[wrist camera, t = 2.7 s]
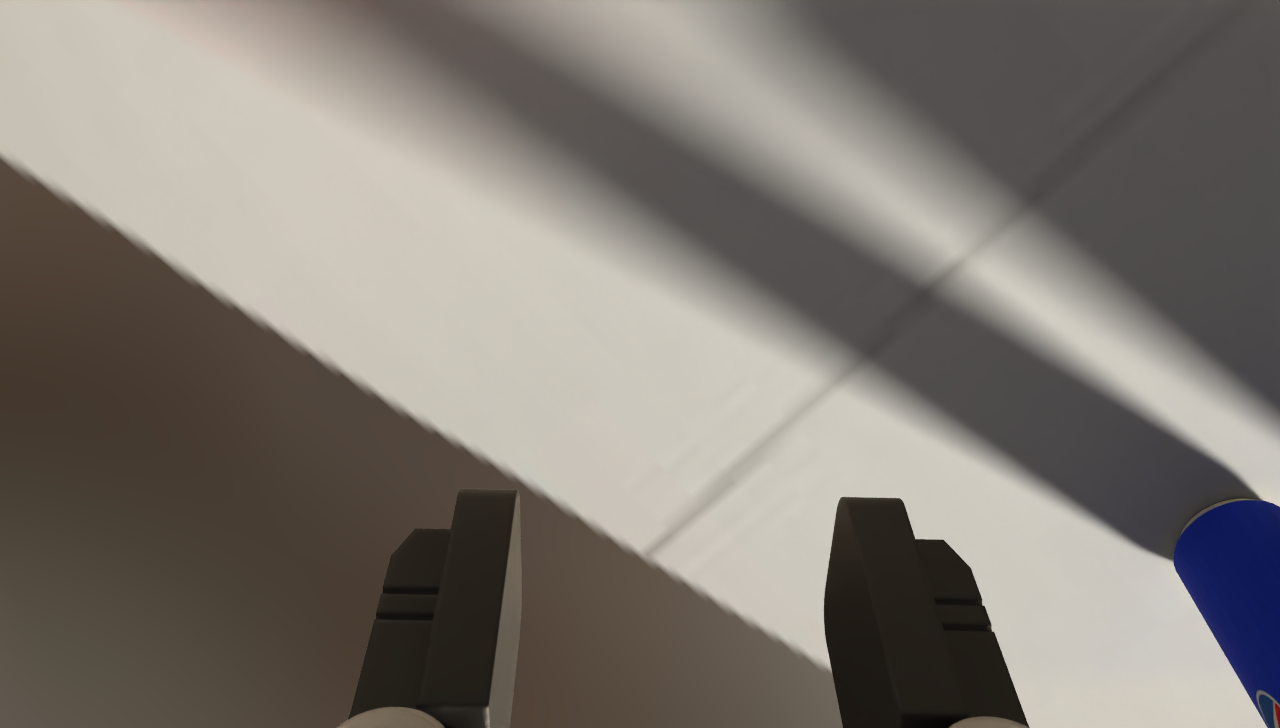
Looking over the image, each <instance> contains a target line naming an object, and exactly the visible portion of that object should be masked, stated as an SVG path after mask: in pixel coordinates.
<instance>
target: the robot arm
mask: <svg viewBox="0 0 1280 728" xmlns="http://www.w3.org/2000/svg"><path fill="white" fill-rule="evenodd" d="M520 537H521V534H520V499H519V491H518V490H507V489H504V490H503V489H460V490H459V492H458V497H457V501H456V506H455V511H454V517H453V521H452V526H451V529H415V530H414V531H413V532H412V533H411V534H410V535H409V536H408V538H407V539H406V540H405V541H404V542H403V543H402V544H401V545H400V547H399V548H398V549H397V550H396V551H395V552H394V553H393V554H392V556H391V558H390V563H389V566H388V570H387V574H386V578H385V581H384V585H383V594H381V597H380V601H379V605H378V609H377V612H376V620H374V624H373V628H372V632H371V636H370V640H369V643H368V647H367V651H366V655H365V659H364V663H363V667H362V671H361V675H360V678H359V682H358V686H357V690H356V694H355V698H354V702H353V706H352V709H351V713H350V715H349V718H348V720H347V721H345V722H344V723H343V724H341V725H340V726H338V727H337V728H510V719H511V710H512V701H513V691H514V682H515V673H516V664H517V655H518V645H519V636H520V625H521V624H520V623H521V604H522V603H521V602H522V575H521V538H520ZM824 625H825V636H826V643H827V648H828V653H829V658H830V663H831V668H832V673H833V678H834V683H835V689H836V693H837V698H838V703H839V709H840V714H841V719H842V724H843V728H1029V725H1028V723H1027V721H1026V718H1025V715H1024V712H1023V710H1022V707H1021V704H1020V701H1019V699H1018V696H1017V693H1016V691H1015V688H1014V685H1013V682H1012V680H1011V677H1010V674H1009V671H1008V669H1007V666H1006V663H1005V661H1004V658H1003V655H1002V652H1001V650H1000V647H999V644H998V641H997V639H996V636H995V633H994V632H992V630H991V626H992V625H991V622H990V620H989V617H988V614H987V611H986V609H985V606H982V598H981V595H980V592H979V590H978V587H977V584H976V581H975V579H974V576H973V573H972V570H971V568H970V567H969V566H968V565H967V564H966V563H965V562H964V561H963V560H962V559H961V557H960V556H959V555H958V554H957V553H956V552H955V551H954V550H953V549H952V548H951V547H950V546H949V545H948V544H947V543H946V542H945V541H944V540H923V539H915V537H914V534H913V530H912V527H911V524H910V521H909V518H908V515H907V512H906V508H905V506H904V503H903V501H902V500H901V499H900V498H859V497H842V498H841V499H840V500H839V503H838V507H837V512H836V519H835V526H834V533H833V540H832V546H831V553H830V560H829V567H828V574H827V581H826V588H825V598H824Z"/></svg>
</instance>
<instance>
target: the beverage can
mask: <svg viewBox="0 0 1280 728" xmlns="http://www.w3.org/2000/svg"><path fill="white" fill-rule="evenodd" d="M1173 558H1174V566H1175V569H1176V571H1177V573H1178V575H1179V577H1180V578H1181V580H1182V582H1183V583H1184V585H1185V587H1186V589H1187V590H1188V592H1189V594H1190V595H1191V597H1192V599H1193V601H1194V602H1195V604H1196V606H1197V607H1198V609H1199V611H1200V613H1201V614H1202V616H1203V618H1204V619H1205V621H1206V623H1207V625H1208V626H1209V628H1210V630H1211V631H1212V633H1213V635H1214V637H1215V638H1216V640H1217V642H1218V643H1219V645H1220V647H1221V648H1222V650H1223V652H1224V654H1225V655H1226V657H1227V659H1228V660H1229V662H1230V664H1231V666H1232V667H1233V669H1234V671H1235V672H1236V674H1237V676H1238V678H1239V679H1240V681H1241V683H1242V684H1243V686H1244V688H1245V690H1246V691H1247V693H1248V695H1249V696H1250V698H1251V700H1252V702H1253V703H1254V705H1255V707H1256V708H1257V710H1258V712H1259V714H1260V715H1261V717H1262V719H1263V720H1264V722H1265V724H1266V725H1267V727H1268V728H1280V507H1279V506H1277V505H1275V504H1272V503H1269V502H1266V501H1260V500H1254V499H1231V500H1227V501H1222V502H1219V503H1217V504H1214V505H1212V506H1210V507H1207V508H1206V509H1204V510H1202V511H1201V512H1199V513H1198V514H1197V515H1195V516H1194V517H1193V518H1192V519H1191V520H1190V521H1189V522H1188V523H1187V524H1186V526H1185V527H1184V528H1183V530H1182V532H1181V534H1180V536H1179V538H1178V541H1177V543H1176V547H1175V550H1174V557H1173Z"/></svg>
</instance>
